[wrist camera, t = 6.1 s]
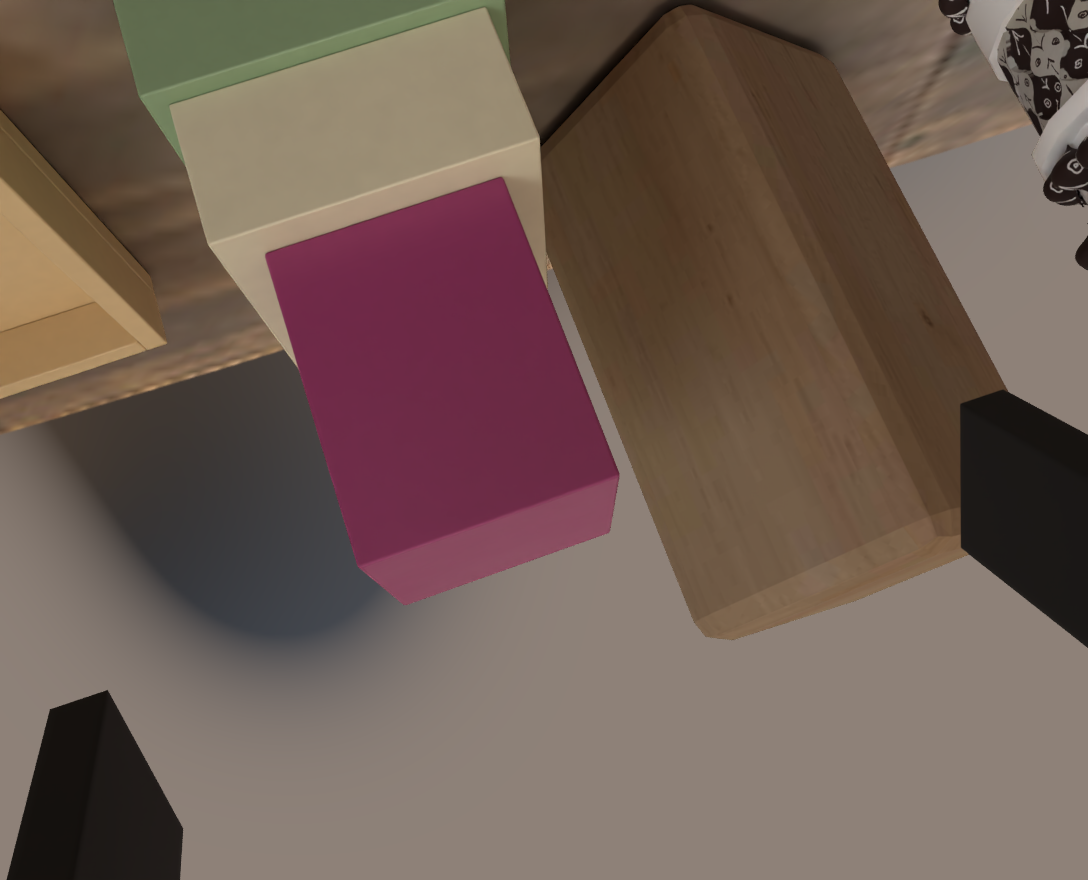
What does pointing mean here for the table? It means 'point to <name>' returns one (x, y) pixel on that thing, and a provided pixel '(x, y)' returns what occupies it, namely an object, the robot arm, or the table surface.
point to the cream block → (357, 145)
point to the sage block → (258, 39)
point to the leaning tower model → (1040, 80)
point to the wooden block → (762, 323)
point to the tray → (62, 278)
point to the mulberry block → (444, 393)
